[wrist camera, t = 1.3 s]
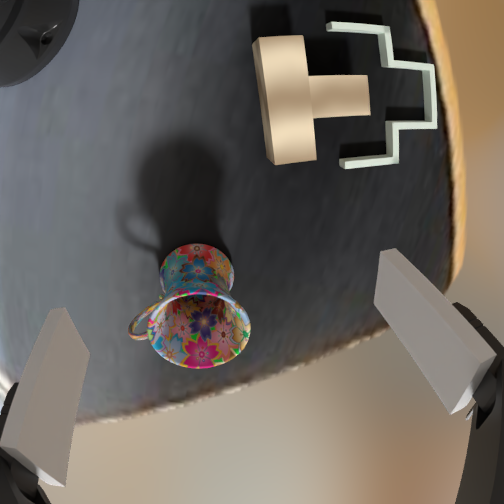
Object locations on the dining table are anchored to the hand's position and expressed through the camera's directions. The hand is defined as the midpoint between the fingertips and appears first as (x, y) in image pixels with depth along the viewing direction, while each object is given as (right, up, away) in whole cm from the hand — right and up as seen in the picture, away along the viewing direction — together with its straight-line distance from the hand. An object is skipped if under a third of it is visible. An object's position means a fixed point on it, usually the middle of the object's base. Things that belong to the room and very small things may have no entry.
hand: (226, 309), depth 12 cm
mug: (-7, 0, +25) cm, 26 cm away
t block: (+7, +18, +17) cm, 26 cm away
